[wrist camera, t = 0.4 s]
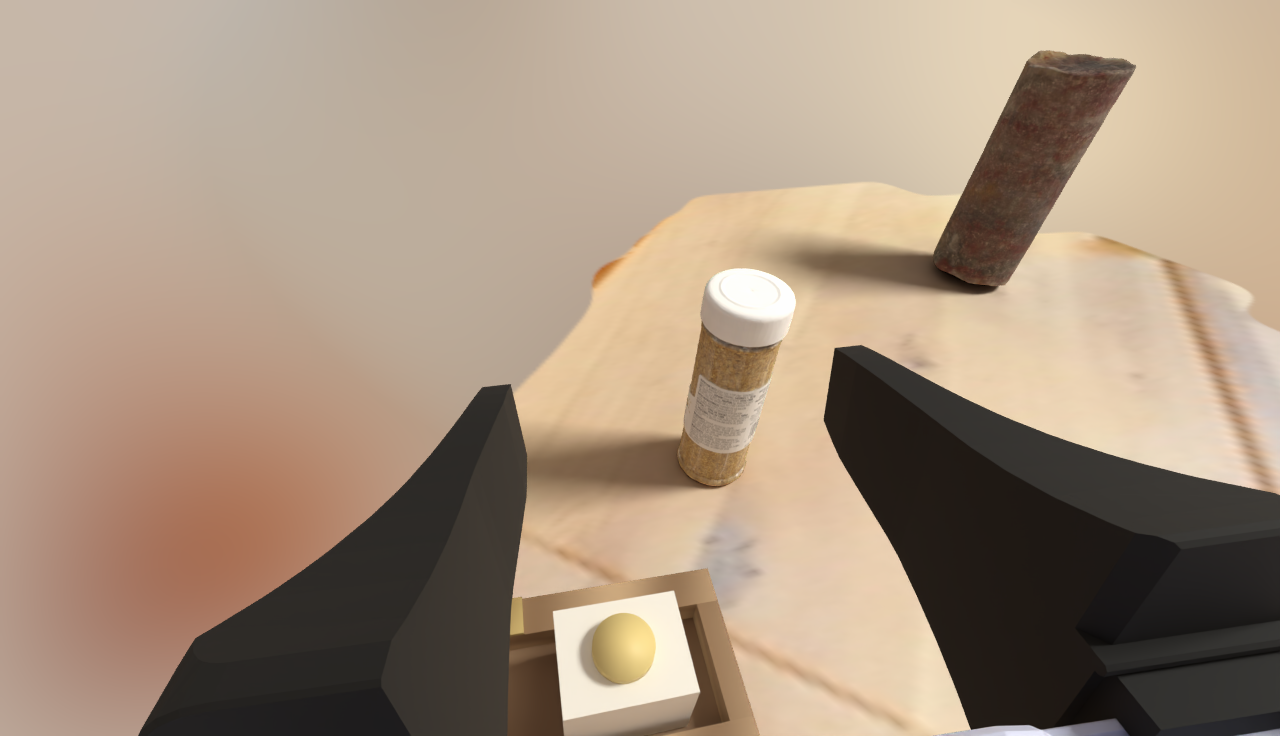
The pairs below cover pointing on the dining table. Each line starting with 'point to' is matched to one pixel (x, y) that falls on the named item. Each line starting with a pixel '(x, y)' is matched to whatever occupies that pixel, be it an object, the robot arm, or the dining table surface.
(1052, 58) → the candle
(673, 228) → the dining table surface
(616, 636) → the block
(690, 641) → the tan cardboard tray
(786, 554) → the dining table surface
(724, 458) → the sprinkles bottle
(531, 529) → the dining table surface
